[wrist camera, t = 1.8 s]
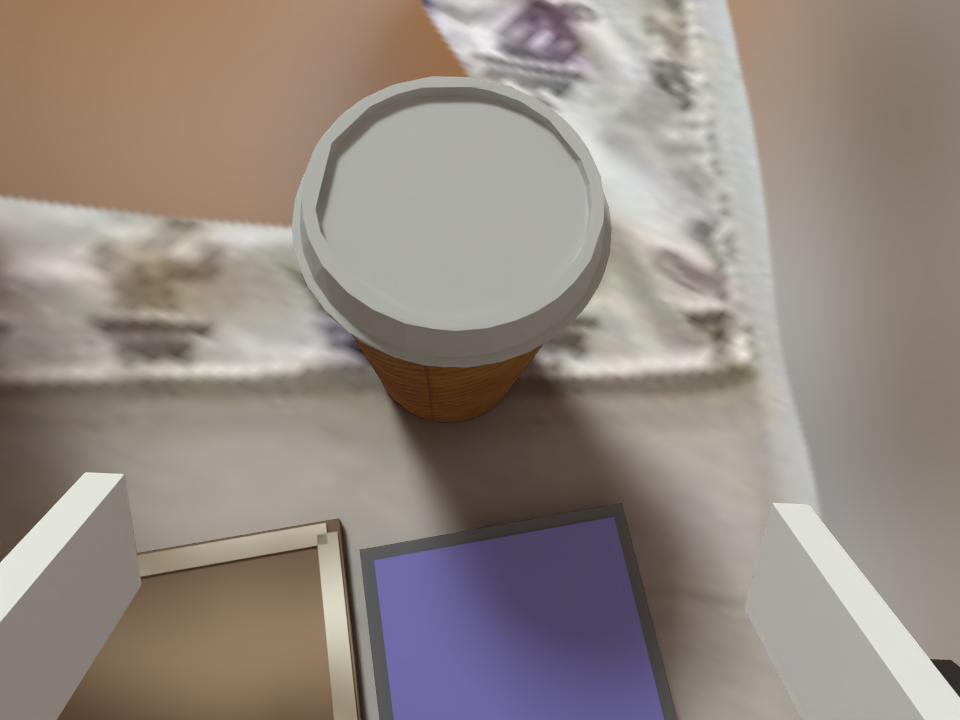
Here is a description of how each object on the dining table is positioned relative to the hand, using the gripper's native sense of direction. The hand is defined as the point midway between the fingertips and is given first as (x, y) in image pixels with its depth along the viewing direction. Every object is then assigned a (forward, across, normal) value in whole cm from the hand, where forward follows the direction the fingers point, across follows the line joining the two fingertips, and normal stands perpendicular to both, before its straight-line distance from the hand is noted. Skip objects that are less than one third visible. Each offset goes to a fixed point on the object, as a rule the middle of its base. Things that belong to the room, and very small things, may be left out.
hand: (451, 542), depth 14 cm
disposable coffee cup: (+17, 0, -3) cm, 17 cm away
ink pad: (+8, +3, -12) cm, 14 cm away
